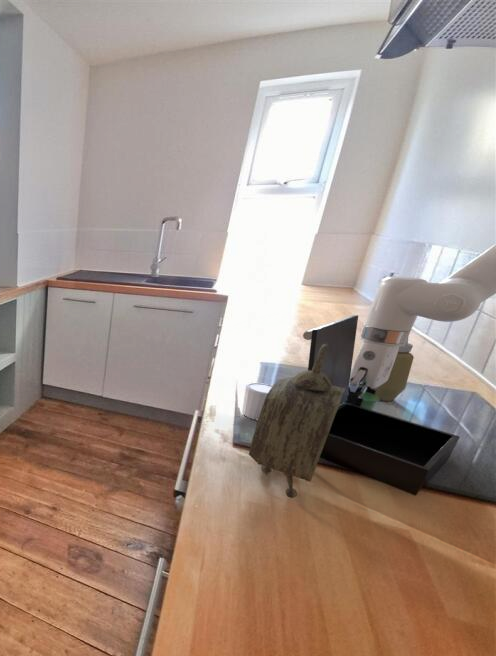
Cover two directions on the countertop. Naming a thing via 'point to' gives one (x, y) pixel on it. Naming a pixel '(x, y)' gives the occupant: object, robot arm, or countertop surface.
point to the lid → (334, 350)
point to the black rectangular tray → (387, 447)
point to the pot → (369, 401)
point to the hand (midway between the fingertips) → (355, 407)
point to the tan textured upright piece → (296, 423)
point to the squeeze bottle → (397, 374)
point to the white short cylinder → (254, 399)
